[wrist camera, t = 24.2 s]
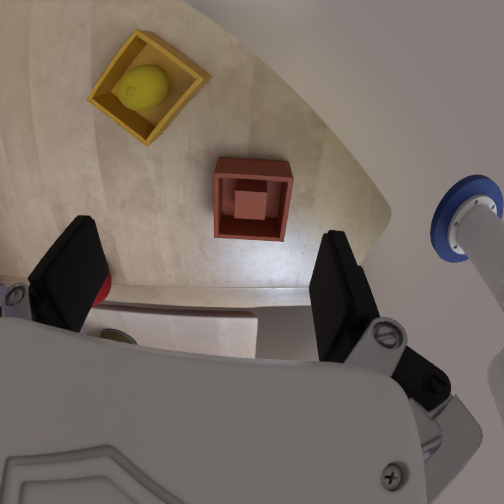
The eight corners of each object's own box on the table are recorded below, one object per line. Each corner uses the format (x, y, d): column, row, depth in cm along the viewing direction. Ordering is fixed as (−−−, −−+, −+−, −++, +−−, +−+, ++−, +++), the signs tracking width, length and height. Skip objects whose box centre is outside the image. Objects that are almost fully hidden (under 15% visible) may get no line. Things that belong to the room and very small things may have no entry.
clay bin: (288, 161, 36) (293, 178, 31) (280, 219, 41) (283, 242, 37) (219, 157, 35) (213, 172, 31) (218, 215, 41) (214, 237, 37)
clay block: (266, 179, 37) (267, 192, 33) (264, 205, 39) (264, 220, 36) (236, 177, 36) (234, 190, 33) (235, 203, 39) (233, 218, 36)
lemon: (163, 111, 30) (140, 125, 24) (128, 94, 29) (98, 105, 22) (184, 74, 28) (165, 78, 21) (148, 57, 26) (120, 58, 19)
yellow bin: (212, 77, 28) (204, 79, 24) (161, 134, 33) (146, 146, 29) (153, 32, 24) (136, 28, 20) (107, 93, 29) (86, 100, 24)
